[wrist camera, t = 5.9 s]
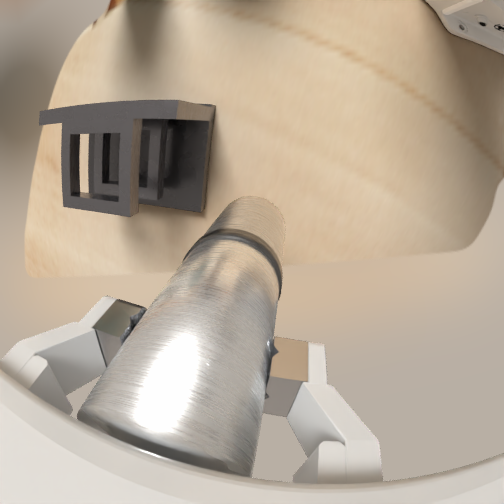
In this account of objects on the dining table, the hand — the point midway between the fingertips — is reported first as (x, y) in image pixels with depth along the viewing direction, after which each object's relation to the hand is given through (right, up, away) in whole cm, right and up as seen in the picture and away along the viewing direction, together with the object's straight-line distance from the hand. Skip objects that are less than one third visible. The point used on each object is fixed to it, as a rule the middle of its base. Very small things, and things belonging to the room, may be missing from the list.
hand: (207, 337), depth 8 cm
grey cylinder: (+1, +4, +9) cm, 10 cm away
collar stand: (-11, +14, +22) cm, 29 cm away
